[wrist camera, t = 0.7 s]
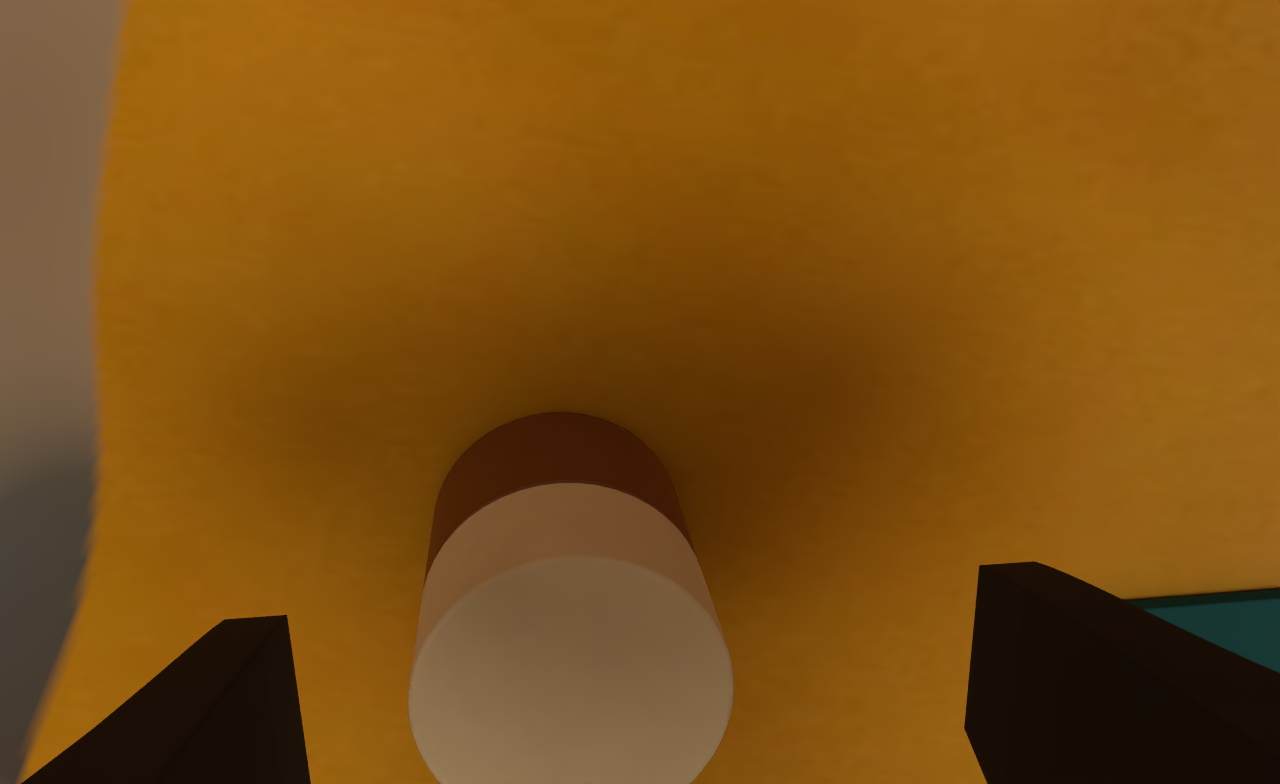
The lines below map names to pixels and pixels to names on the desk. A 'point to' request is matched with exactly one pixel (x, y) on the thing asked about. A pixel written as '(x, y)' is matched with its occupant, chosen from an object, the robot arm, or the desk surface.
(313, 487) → the desk surface
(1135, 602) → the flat teal panel
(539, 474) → the two-tone cylinder
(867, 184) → the desk surface
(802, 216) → the desk surface
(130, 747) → the robot arm
